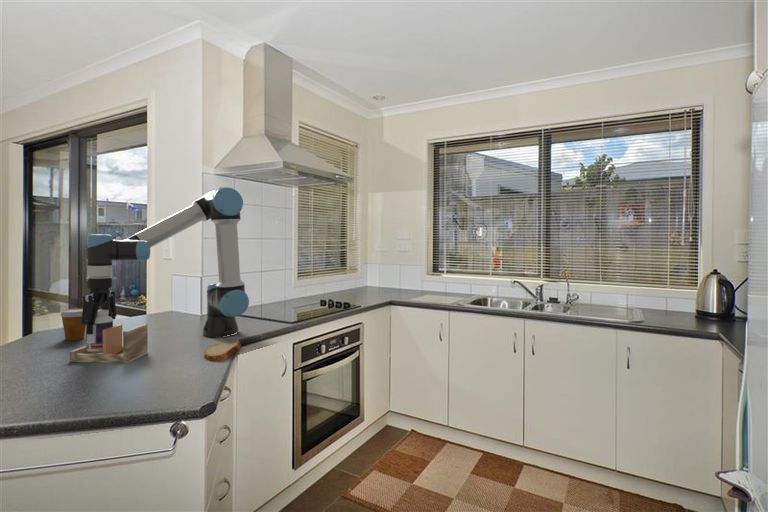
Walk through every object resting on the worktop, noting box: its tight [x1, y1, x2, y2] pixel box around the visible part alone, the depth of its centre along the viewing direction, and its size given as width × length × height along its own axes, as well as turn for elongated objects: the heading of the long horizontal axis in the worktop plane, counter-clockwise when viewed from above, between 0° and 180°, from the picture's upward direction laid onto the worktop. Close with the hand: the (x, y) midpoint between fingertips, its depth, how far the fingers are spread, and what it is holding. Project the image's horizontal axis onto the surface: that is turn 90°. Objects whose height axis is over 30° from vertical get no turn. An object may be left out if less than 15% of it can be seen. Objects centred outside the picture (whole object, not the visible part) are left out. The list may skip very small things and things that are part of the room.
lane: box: [69, 323, 149, 364], centre depth 152 cm, size 20×12×11 cm, turn 90°
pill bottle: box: [85, 309, 114, 352], centre depth 151 cm, size 8×8×14 cm
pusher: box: [103, 323, 123, 354], centre depth 152 cm, size 1×9×10 cm, turn 0°
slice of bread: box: [203, 340, 242, 362], centre depth 161 cm, size 18×18×4 cm
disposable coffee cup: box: [59, 308, 86, 341], centre depth 176 cm, size 10×10×12 cm
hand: (99, 340), depth 152 cm, fingers closed on pill bottle, 8 cm apart
